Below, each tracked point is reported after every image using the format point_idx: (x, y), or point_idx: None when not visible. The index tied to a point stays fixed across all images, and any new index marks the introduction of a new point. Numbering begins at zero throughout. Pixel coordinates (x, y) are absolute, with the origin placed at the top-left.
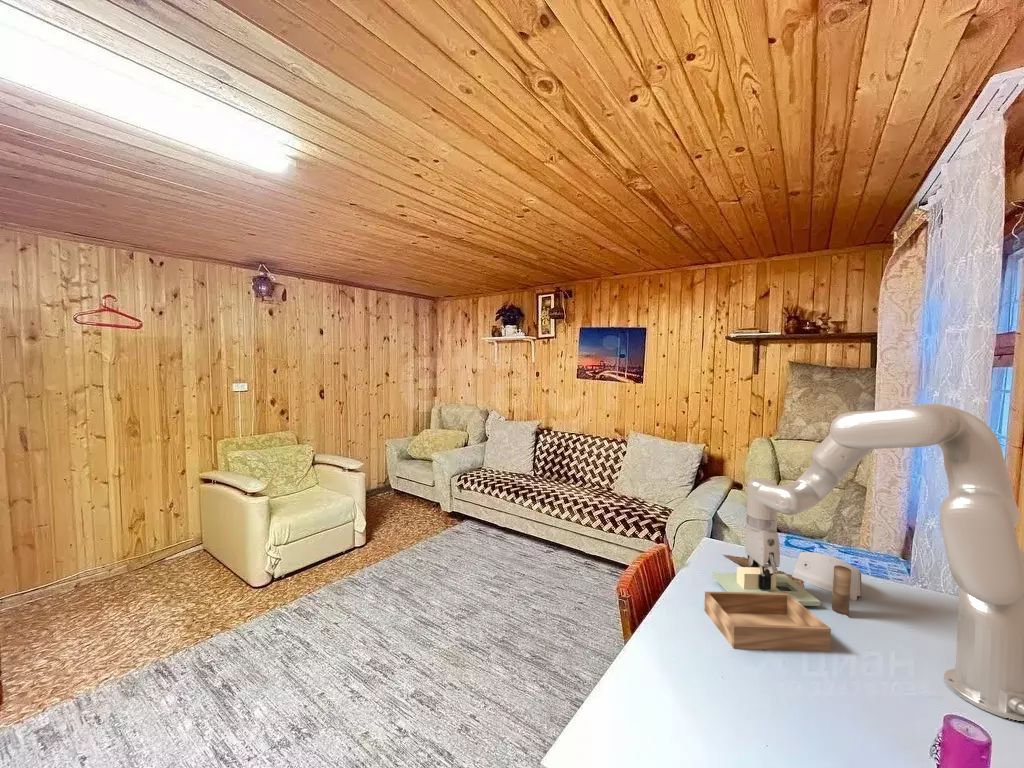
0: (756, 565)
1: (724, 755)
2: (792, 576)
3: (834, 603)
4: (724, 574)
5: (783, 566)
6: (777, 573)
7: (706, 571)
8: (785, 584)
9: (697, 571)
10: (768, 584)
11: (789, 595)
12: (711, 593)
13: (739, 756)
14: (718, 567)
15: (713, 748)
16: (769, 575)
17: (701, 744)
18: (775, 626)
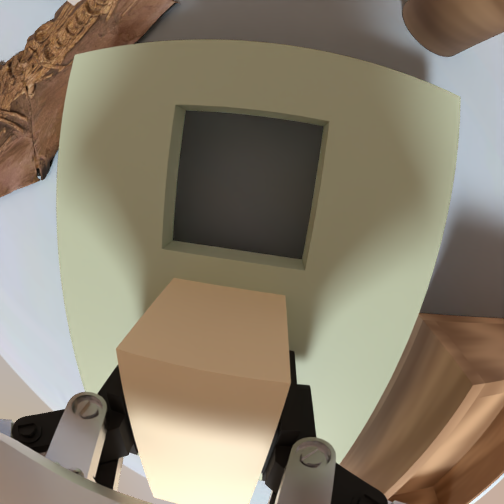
0: (119, 437)
1: (490, 489)
2: (73, 4)
3: (468, 37)
4: None
5: (13, 15)
6: (36, 61)
7: (47, 375)
8: (180, 119)
9: (57, 400)
10: (308, 403)
11: (485, 389)
12: None
13: (498, 482)
14: (7, 309)
15: (482, 494)
16: (337, 476)
17: (474, 499)
18: (501, 474)
